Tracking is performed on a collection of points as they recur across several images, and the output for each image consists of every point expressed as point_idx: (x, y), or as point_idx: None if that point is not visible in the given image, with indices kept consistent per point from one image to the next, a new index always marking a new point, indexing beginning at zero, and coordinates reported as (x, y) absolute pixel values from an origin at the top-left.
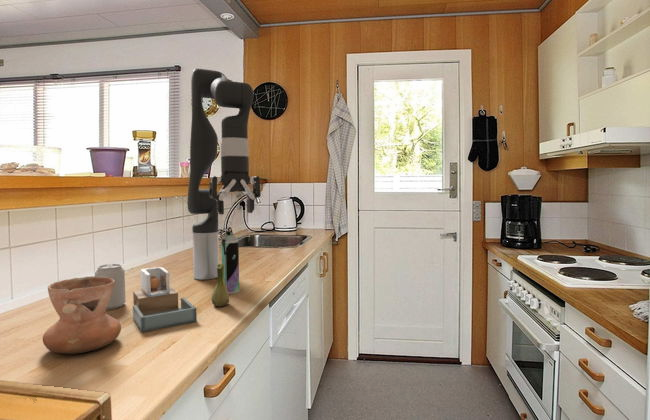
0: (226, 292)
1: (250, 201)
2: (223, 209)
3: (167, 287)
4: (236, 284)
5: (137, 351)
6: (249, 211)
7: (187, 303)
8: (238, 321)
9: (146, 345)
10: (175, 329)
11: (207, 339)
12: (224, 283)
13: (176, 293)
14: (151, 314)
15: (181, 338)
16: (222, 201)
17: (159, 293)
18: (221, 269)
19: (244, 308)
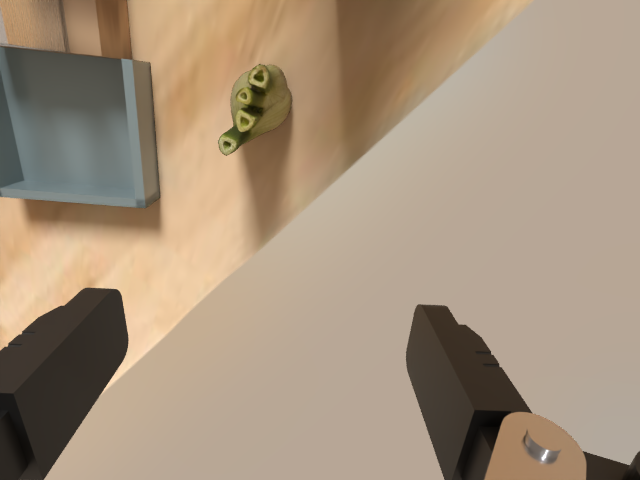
0: (271, 128)
1: (444, 469)
2: (101, 386)
3: (45, 49)
4: None
5: (18, 285)
6: (411, 352)
7: (130, 146)
8: (250, 257)
9: (35, 267)
10: (102, 216)
11: (155, 309)
12: (264, 122)
13: (97, 55)
14: (42, 69)
15: (107, 274)
16: (29, 472)
17: (27, 47)
18: (235, 150)
19: (308, 177)
